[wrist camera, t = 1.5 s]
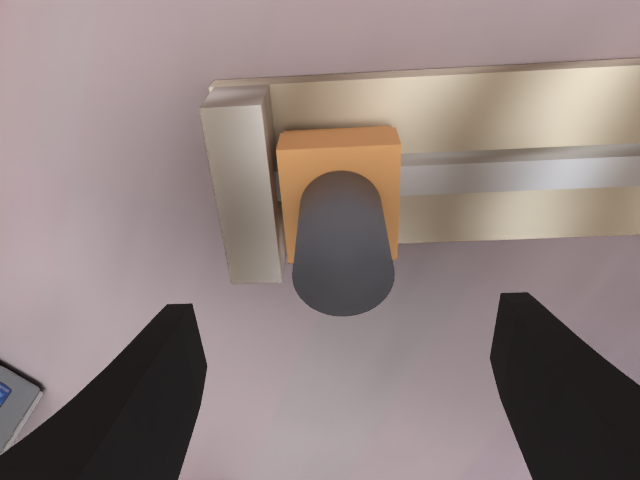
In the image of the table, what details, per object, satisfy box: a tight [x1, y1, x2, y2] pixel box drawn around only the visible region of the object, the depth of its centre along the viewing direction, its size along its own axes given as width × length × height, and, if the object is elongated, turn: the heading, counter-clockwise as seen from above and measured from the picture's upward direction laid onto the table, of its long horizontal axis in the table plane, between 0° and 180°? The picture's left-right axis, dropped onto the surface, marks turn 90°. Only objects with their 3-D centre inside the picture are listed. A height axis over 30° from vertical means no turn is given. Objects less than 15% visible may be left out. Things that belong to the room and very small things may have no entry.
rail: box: [199, 58, 640, 284], centre depth 19 cm, size 20×7×4 cm, turn 93°
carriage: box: [276, 126, 401, 316], centre depth 17 cm, size 4×4×7 cm
